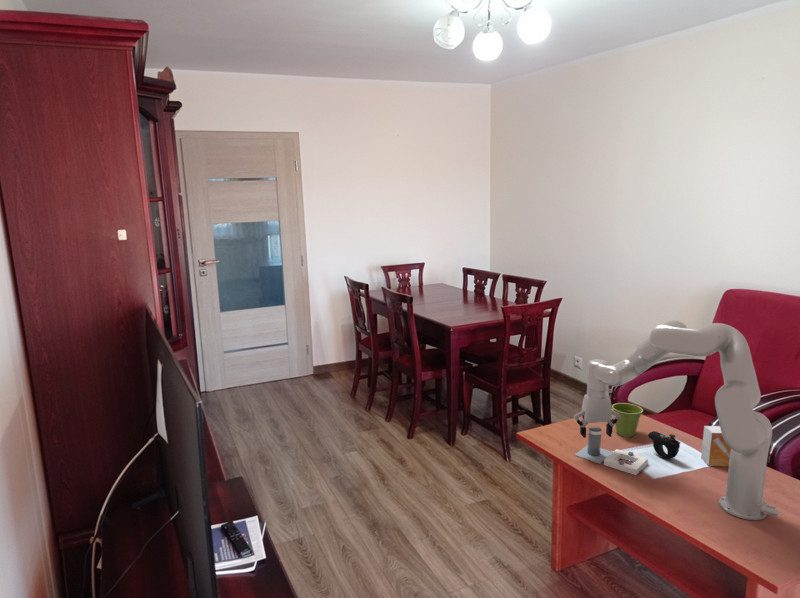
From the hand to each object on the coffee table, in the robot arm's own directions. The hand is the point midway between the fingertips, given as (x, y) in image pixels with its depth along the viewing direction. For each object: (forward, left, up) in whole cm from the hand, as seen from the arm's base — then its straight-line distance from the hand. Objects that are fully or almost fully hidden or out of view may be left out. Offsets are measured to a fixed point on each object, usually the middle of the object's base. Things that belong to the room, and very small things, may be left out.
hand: (596, 435), depth 204 cm
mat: (0, 0, -8) cm, 8 cm away
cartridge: (+1, 0, -7) cm, 7 cm away
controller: (-20, -15, -8) cm, 26 cm away
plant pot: (-2, -26, -8) cm, 27 cm away
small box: (-36, -23, -8) cm, 43 cm away
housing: (-12, 0, -8) cm, 14 cm away
